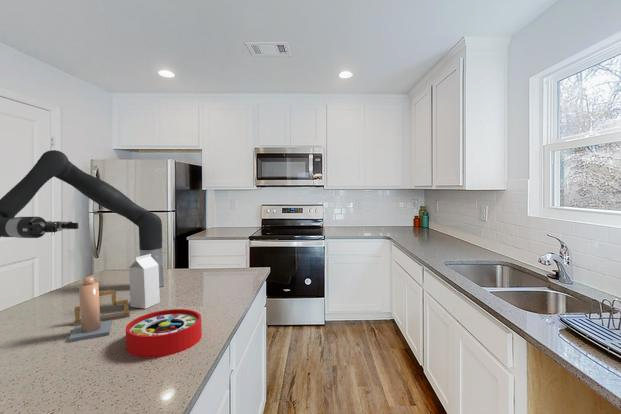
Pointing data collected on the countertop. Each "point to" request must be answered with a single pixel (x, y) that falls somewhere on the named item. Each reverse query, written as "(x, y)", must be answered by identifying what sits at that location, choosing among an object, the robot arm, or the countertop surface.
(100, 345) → the countertop surface
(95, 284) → the peach bottle
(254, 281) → the countertop surface
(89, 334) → the pad
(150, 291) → the milk carton
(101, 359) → the countertop surface
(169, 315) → the toy clock
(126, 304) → the golden stepped frame
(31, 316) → the countertop surface
